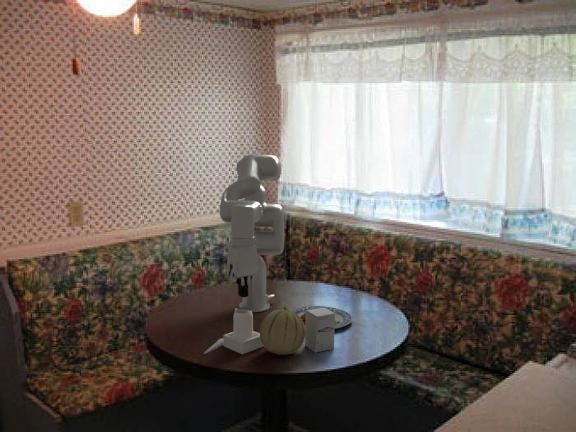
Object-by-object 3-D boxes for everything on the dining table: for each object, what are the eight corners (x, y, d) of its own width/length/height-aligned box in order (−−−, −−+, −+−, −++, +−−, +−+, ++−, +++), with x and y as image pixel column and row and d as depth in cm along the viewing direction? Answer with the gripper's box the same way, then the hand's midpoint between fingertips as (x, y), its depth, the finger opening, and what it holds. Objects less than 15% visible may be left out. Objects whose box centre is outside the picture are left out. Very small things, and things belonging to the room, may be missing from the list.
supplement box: (315, 353, 188) (316, 316, 186) (304, 345, 195) (304, 309, 193) (334, 349, 192) (335, 313, 190) (323, 341, 198) (323, 306, 196)
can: (250, 348, 190) (250, 313, 188) (231, 347, 191) (231, 312, 189) (254, 341, 196) (254, 307, 194) (236, 339, 197) (236, 306, 195)
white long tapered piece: (226, 338, 201) (226, 333, 200) (233, 340, 199) (233, 334, 199) (200, 355, 188) (200, 350, 187) (207, 357, 187) (206, 352, 186)
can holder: (245, 338, 201) (245, 327, 200) (263, 346, 194) (263, 335, 193) (223, 346, 194) (223, 334, 193) (242, 354, 187) (242, 342, 186)
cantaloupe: (259, 363, 181) (259, 317, 178) (259, 344, 195) (259, 302, 193) (306, 362, 181) (307, 316, 179) (303, 344, 196) (303, 301, 193)
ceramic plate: (269, 322, 217) (269, 315, 217) (313, 306, 236) (313, 299, 235) (322, 340, 200) (322, 332, 199) (365, 322, 218) (365, 314, 218)
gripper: (252, 237, 196) (252, 289, 199) (217, 243, 185) (218, 298, 188) (267, 240, 190) (267, 294, 193) (232, 247, 180) (233, 303, 183)
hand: (243, 296), depth 191 cm, fingers closed
